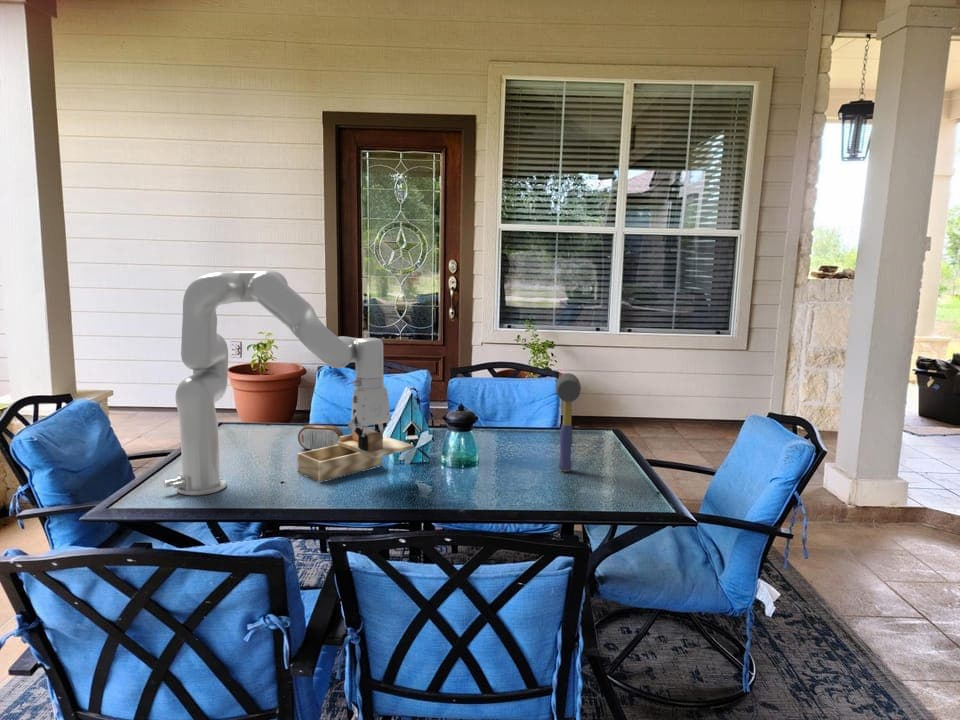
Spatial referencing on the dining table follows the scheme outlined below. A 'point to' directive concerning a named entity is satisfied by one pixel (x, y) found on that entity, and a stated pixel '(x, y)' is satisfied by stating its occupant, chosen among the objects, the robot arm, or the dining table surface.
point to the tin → (318, 436)
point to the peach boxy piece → (355, 436)
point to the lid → (381, 445)
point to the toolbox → (335, 460)
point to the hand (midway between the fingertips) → (370, 447)
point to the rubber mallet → (567, 416)
